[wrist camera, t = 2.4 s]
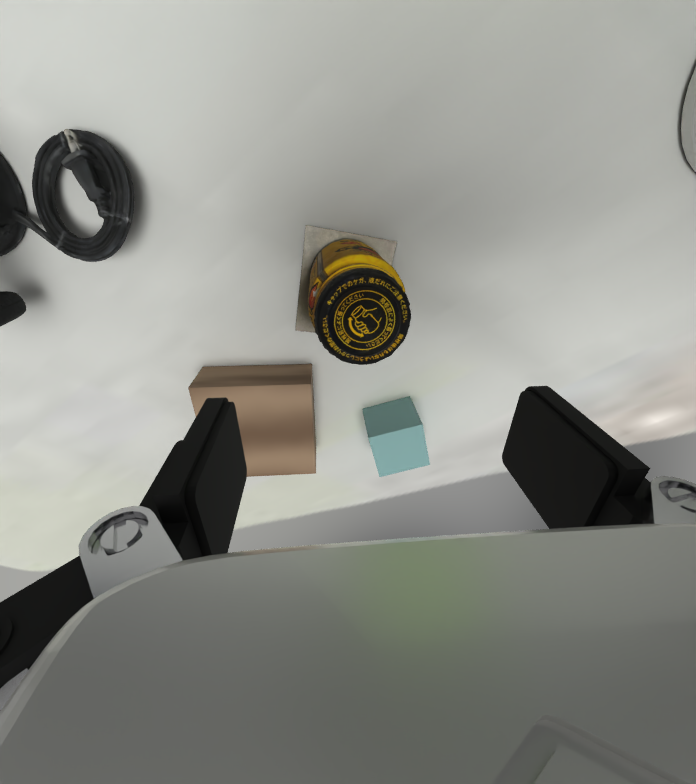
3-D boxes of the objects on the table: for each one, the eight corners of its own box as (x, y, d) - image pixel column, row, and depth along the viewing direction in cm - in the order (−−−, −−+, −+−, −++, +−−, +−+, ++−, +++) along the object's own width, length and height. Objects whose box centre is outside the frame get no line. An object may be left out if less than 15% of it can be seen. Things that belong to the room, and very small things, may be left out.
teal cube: (362, 408, 35) (368, 438, 30) (409, 396, 34) (422, 424, 30) (372, 444, 37) (379, 477, 33) (416, 433, 37) (429, 464, 33)
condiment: (396, 241, 27) (444, 267, 17) (374, 340, 31) (402, 410, 21) (305, 224, 26) (296, 241, 16) (295, 329, 30) (283, 397, 20)
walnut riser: (202, 366, 31) (188, 387, 28) (311, 363, 32) (310, 384, 28) (222, 451, 36) (212, 478, 33) (316, 447, 37) (315, 473, 33)
